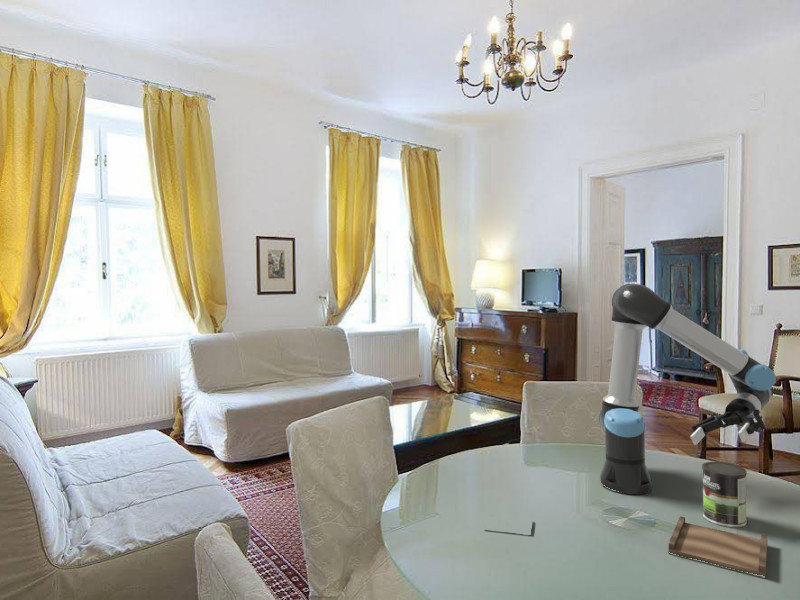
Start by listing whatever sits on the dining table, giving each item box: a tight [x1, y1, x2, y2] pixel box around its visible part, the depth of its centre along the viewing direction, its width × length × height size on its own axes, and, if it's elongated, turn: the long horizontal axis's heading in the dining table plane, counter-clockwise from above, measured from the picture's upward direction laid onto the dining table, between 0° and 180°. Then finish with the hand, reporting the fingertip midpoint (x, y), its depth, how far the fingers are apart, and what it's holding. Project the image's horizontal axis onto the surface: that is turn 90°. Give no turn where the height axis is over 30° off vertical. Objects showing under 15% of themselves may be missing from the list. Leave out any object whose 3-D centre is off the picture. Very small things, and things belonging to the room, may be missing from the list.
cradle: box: [668, 515, 768, 576], centre depth 125 cm, size 17×19×3 cm
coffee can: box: [701, 461, 748, 528], centre depth 141 cm, size 10×10×14 cm
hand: (716, 439), depth 149 cm, fingers open, 13 cm apart
